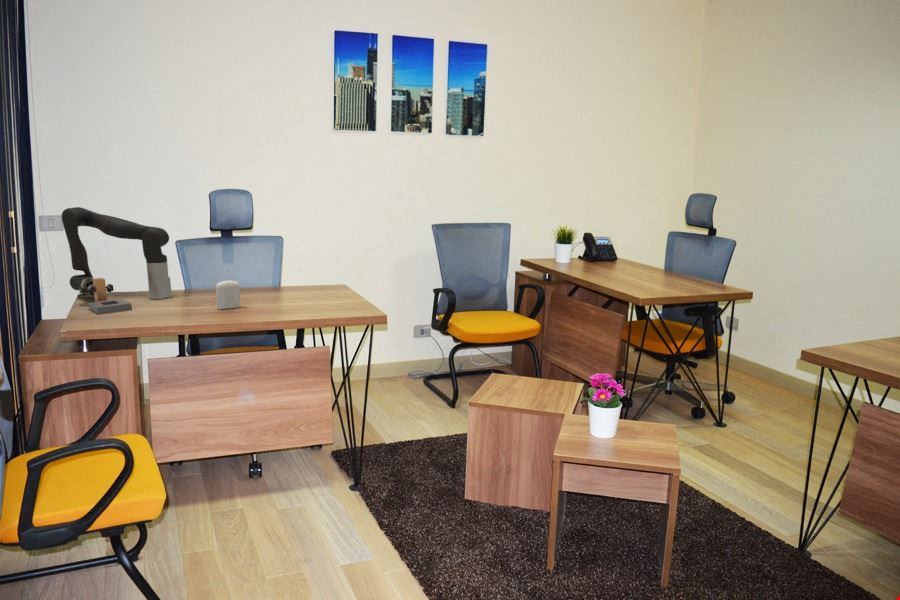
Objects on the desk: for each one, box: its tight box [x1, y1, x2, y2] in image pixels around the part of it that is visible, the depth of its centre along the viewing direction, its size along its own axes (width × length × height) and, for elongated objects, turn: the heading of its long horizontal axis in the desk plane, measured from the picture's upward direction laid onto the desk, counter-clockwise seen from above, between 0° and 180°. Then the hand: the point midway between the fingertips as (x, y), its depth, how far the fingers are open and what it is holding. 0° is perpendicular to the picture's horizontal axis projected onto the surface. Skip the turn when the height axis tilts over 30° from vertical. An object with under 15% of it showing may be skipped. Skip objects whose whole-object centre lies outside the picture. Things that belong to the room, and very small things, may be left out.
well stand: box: [87, 298, 133, 315], centre depth 319 cm, size 14×14×3 cm
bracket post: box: [93, 277, 108, 302], centre depth 329 cm, size 4×4×12 cm
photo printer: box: [215, 280, 241, 310], centre depth 320 cm, size 10×4×12 cm, turn 123°
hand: (101, 291), depth 327 cm, fingers open, 7 cm apart
